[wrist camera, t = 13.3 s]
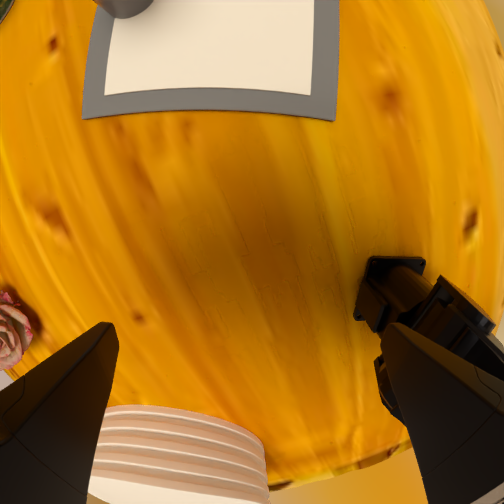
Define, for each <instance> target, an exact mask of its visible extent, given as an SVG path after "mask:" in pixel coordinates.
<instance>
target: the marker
mask: <svg viewBox="0 0 504 504" xmlns="http://www.w3.org/2000/svg"><path fill="white" fill-rule="evenodd" d="M93 1H94V2H95V3H97V4H98V5H99V6H100V7H101V8H103V9H104V10H105V11H106V12H107V13H109V14H110V15H111V16H112V17H114V18H117V19H126V18H131V17H134V16H136V15H138V14H140V13H141V12H143V11H144V10H146V9H147V8H148V7H149V6H150V5H151V4H152V2H153V1H154V0H93Z"/></svg>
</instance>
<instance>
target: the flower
mask: <svg viewBox="0 0 504 504" xmlns="http://www.w3.org/2000/svg"><path fill="white" fill-rule="evenodd" d="M18 302H19V301H17V302H16V303H14V301H12V300H11V297H10V296H9V295H8V293H7V292H6V293H4V292H3V290H1V294H0V371H1V370H3V369H10V368H12V367H13V366H14V365H15V364H17V363H18V362H19V361H20V360H21V358H22V355H23V354H24V351H26V350H27V349H28V347H29V345H30V343H31V340H32V337H33V334H31V332H30V329H31V327H30V324H29V321H28V318H27V316H25V315H24V314H23V313H22V312H21V311H19V310H18V309H16V308H14V307H13V306H15V305H17V306H20V305H21V304H18ZM12 309H13V310H12Z"/></svg>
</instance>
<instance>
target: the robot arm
mask: <svg viewBox="0 0 504 504" xmlns="http://www.w3.org/2000/svg"><path fill="white" fill-rule="evenodd" d="M373 261H375V263H374V264H372V263H373ZM421 262H422V263H421ZM420 263H421V264H420ZM425 265H426V260H425V259H423V258H422V257H390V256H372V257H370V258H369V260H368V262H367V266H366V270H365V274H364V278H363V280H362V282H361V286H360V289H359V293H358V296H357V300H356V303H355V305H356V307H355V310H354V313H353V317H354V319H355V320H356V321H364V320H365V321H366V322H367V324H368V325H369V327H370V329H371V330H372V332H373V333H377V334H378V336H379V337H380V339H381V344H380V346H381V351H382V354H381V355H380V356H379V357H377V358H376V359H375V360H374V367H375V372H376V377H377V382H378V388H379V394H380V397H381V401H382V403H383V405H385V407H386V408H387V409H388V410H389V412H390V413H391V414H392V415H393V416H394V417H396V418H397V419H398V420H400V421H401V422H402V423H403V424H404V425H405V426H406V427H407V430H408V433H409V436H410V439H411V443H412V446H413V449H414V452H415V455H416V459H417V462H418V466H419V469H420V472H421V476H422V477H423V478H422V480H423V484H424V488H425V492H426V496H427V500H428V504H504V347H503V345H502V343H501V342H500V341H499V340H498V339H497V338H496V337H495V336H494V335H493V334H492V333H491V331H492V330H493V329H494V327H495V326H496V324H495V323H494V322H493V321H492V319H491V318H490V317H489V316H488V315H487V314H486V312H485V311H484V310H483V309H482V308H481V307H480V306H479V305H478V304H477V303H476V302H475V301H474V300H472V299H471V298H470V297H469V296H468V295H467V294H466V293H464V292H463V291H462V290H461V289H459V288H458V287H457V286H455V285H454V284H453V283H451V282H450V281H449V280H447V279H446V278H444V277H443V276H442V275H440V276H439V277H438V279H437V282H436V284H435V285H434V287H433V286H432V285H431V284H430V283H429V282H428V281H427V280H426V279H425V278H424V277H423V276H422V274H423V271H424V268H425ZM358 315H359V316H358ZM118 352H119V341H118V338H117V334H116V330H115V327H114V325H113V324H112V323H110V322H100V323H98V324H97V325H95V326H94V327H92V328H91V329H89V330H88V331H86V332H85V333H83V334H82V335H80V336H79V337H77V338H76V339H74V340H73V341H72V342H70V343H69V344H67V345H66V346H64V347H63V348H61V349H60V350H58V351H57V352H56V353H54V354H53V355H51V356H50V357H48V358H47V359H46V360H44V361H43V362H41V363H40V364H38V365H37V366H36V367H34V368H33V369H31V370H30V371H29V372H27V373H26V374H25V376H24V375H23V376H22V377H20V378H19V379H17V380H16V381H15V382H13V383H12V384H10V385H9V386H7V387H6V388H4V389H3V390H1V391H0V504H86V501H87V493H88V487H89V481H90V476H91V471H92V465H93V461H94V456H95V451H96V447H97V442H98V438H99V434H100V430H101V426H102V422H103V418H104V414H105V410H106V407H107V403H108V400H109V396H110V392H111V389H112V384H113V378H114V372H115V367H116V362H117V357H118Z"/></svg>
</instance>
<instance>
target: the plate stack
mask: <svg viewBox="0 0 504 504" xmlns="http://www.w3.org/2000/svg"><path fill="white" fill-rule="evenodd" d="M267 483H268V480H267V473H266V463H265V458H264V447H263V444H262V442H261V441H260V440H259V438H258V437H256V436H255V435H254V434H253V433H251V432H250V431H248V430H246V429H244V428H242V427H240V426H238V425H236V424H233V423H231V422H228V421H225V420H222V419H219V418H216V417H212V416H209V415H205V414H201V413H196V412H192V411H187V410H181V409H176V408H169V407H161V406H151V405H120V406H114V407H109V408H106V410H105V414H104V418H103V422H102V426H101V430H100V434H99V438H98V442H97V447H96V451H95V456H94V461H93V465H92V471H91V476H90V481H89V487H88V492H89V493H91V494H92V495H94V496H96V497H97V498H99V499H101V500H103V501H105V502H108V503H110V504H270V502H269V500H268V498H269V488H268V486H267Z"/></svg>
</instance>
